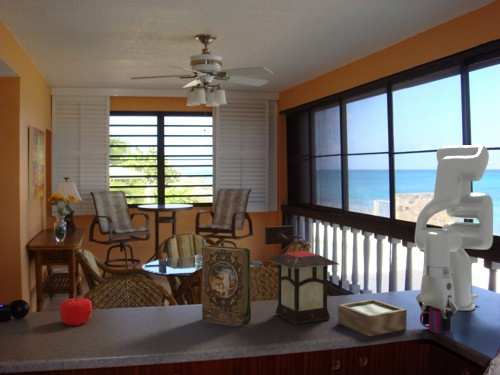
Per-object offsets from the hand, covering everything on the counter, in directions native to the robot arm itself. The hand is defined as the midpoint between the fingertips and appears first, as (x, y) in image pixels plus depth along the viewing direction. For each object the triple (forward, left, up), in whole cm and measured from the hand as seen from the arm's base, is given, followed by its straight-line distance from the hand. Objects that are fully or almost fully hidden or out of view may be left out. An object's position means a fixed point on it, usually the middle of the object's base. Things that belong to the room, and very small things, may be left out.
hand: (436, 326), depth 163 cm
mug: (0, -1, -2) cm, 2 cm away
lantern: (+28, -37, -2) cm, 46 cm away
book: (+54, -41, -2) cm, 68 cm away
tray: (+14, -14, -1) cm, 20 cm away
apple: (+98, -64, -2) cm, 117 cm away
